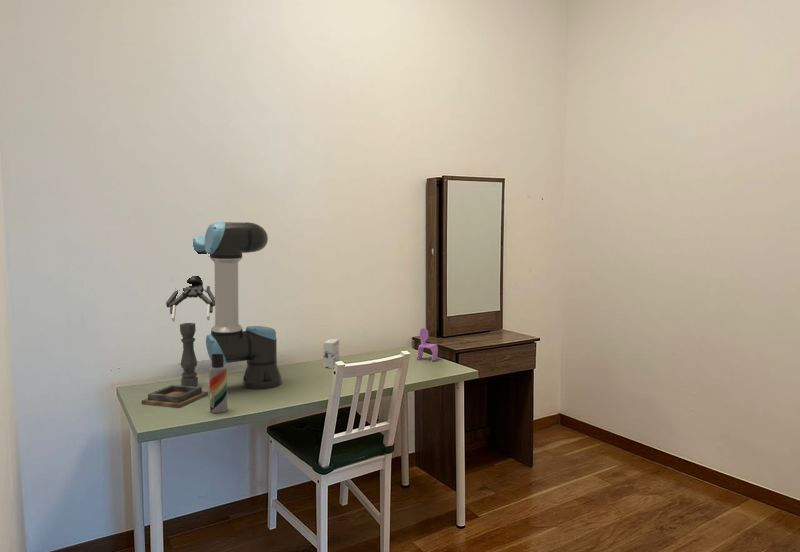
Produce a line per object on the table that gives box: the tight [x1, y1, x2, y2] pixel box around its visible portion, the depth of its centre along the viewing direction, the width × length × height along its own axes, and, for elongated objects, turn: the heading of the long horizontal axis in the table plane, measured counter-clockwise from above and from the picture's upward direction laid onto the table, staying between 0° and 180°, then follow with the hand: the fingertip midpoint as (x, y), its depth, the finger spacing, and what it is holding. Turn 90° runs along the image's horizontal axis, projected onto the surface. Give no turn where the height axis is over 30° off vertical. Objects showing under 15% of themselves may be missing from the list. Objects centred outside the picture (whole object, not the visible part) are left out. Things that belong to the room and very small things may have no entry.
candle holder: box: [179, 322, 199, 387], centre depth 219 cm, size 6×6×25 cm
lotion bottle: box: [208, 354, 229, 414], centre depth 190 cm, size 6×6×20 cm
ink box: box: [322, 338, 340, 369], centre depth 253 cm, size 9×5×12 cm, turn 168°
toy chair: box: [415, 327, 439, 362], centre depth 265 cm, size 8×9×15 cm
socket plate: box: [141, 384, 209, 409], centre depth 203 cm, size 16×16×3 cm
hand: (190, 319), depth 229 cm, fingers open, 13 cm apart
